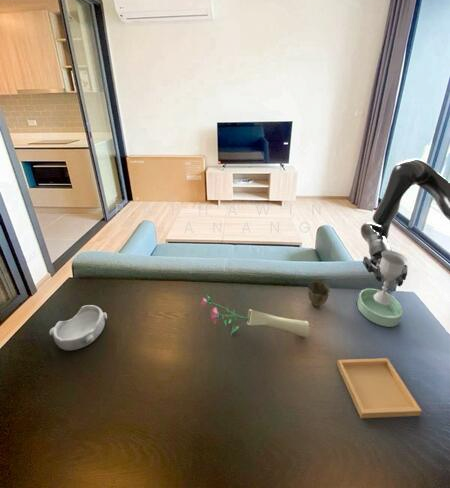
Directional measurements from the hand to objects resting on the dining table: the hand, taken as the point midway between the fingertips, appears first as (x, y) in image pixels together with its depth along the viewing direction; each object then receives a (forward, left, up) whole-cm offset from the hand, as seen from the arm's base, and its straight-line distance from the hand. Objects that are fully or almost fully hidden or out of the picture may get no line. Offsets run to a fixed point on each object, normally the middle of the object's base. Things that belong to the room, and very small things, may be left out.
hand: (389, 281), depth 80 cm
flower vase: (+45, +4, -16) cm, 48 cm away
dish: (+101, +3, -16) cm, 102 cm away
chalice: (-1, -2, -10) cm, 10 cm away
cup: (+20, -6, -16) cm, 26 cm away
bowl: (-1, -2, -16) cm, 16 cm away
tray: (+15, +22, -16) cm, 31 cm away
